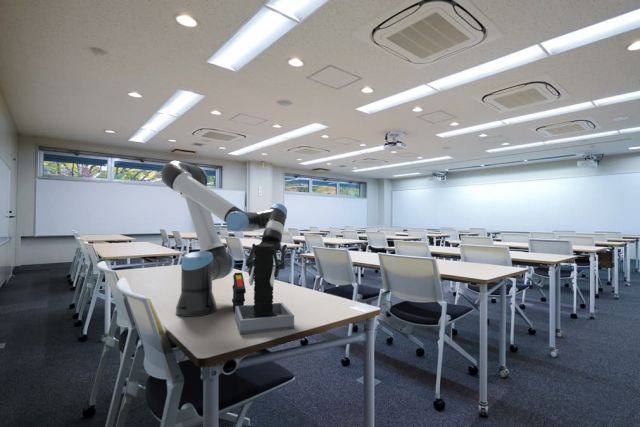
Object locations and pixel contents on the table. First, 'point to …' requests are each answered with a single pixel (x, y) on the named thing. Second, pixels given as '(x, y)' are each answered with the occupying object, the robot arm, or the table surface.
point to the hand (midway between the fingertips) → (260, 283)
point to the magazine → (238, 290)
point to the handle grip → (263, 281)
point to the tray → (263, 319)
